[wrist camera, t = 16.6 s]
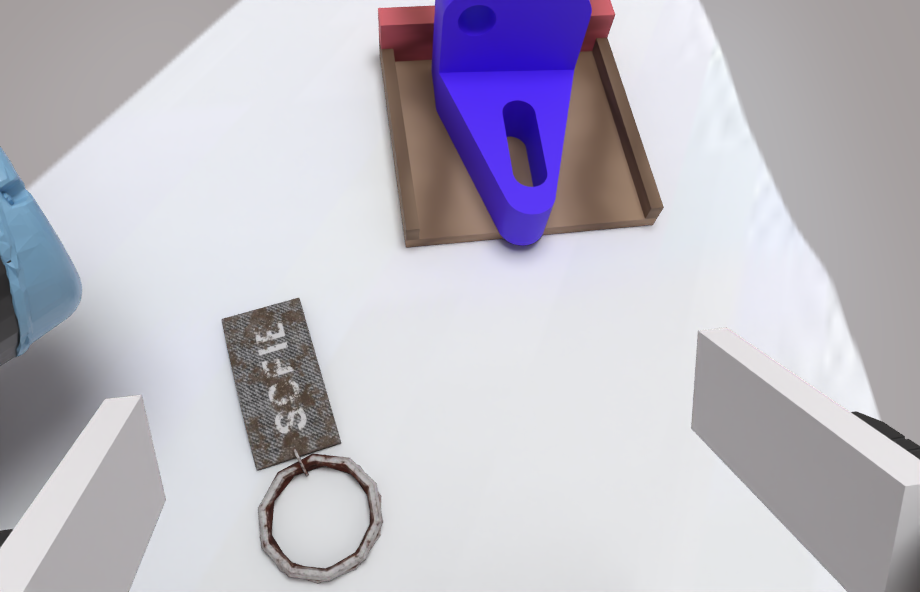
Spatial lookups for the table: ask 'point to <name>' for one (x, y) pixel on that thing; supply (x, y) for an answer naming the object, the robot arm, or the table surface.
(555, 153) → the bracket
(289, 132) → the table surface
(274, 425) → the keychain
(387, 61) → the walnut stop track
